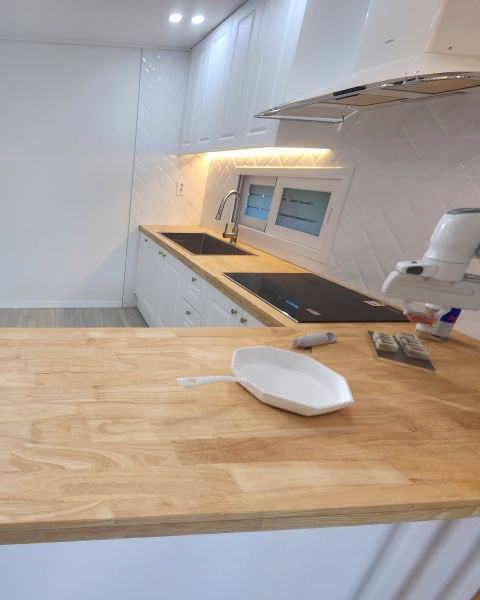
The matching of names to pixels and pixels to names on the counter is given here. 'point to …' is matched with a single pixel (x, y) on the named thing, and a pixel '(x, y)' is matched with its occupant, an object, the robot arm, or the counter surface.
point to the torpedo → (315, 339)
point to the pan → (284, 381)
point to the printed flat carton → (412, 346)
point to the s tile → (421, 318)
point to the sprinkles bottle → (423, 329)
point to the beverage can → (446, 324)
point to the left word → (385, 342)
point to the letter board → (401, 355)
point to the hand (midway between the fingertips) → (420, 317)
